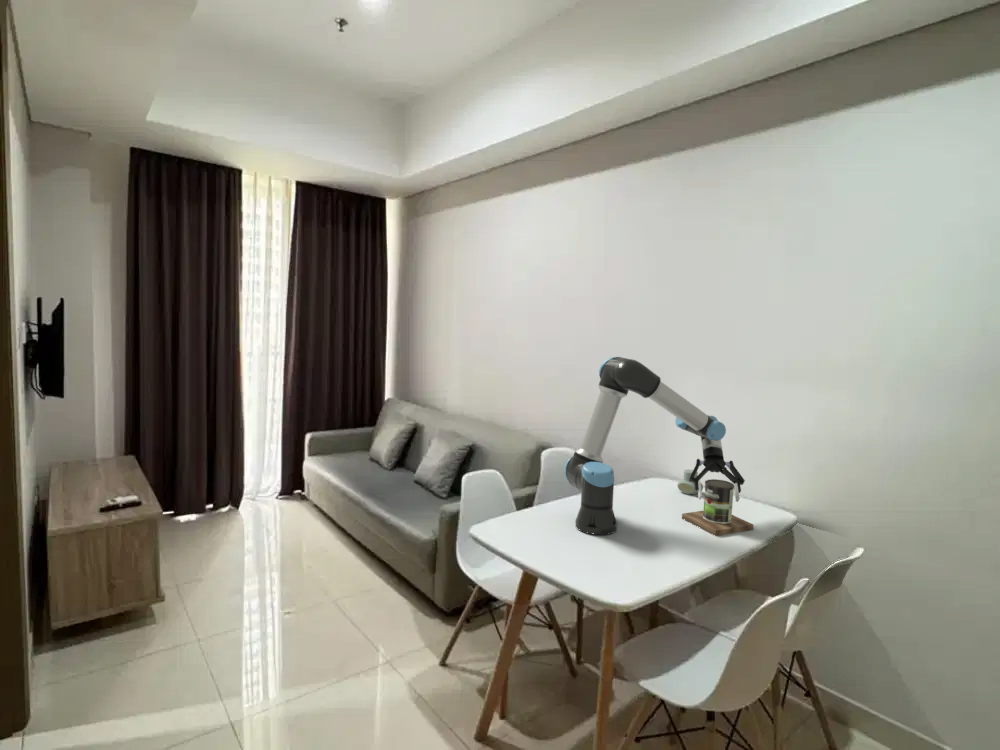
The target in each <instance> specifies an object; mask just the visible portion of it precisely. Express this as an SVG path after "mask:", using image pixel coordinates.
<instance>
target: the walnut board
mask: <svg viewBox="0 0 1000 750" xmlns="http://www.w3.org/2000/svg"><path fill="white" fill-rule="evenodd" d="M703 512H704V510H699V511H692V512H684V513H681V519H682V520H684V519H685V520H684V521H686V520H687V521H686V522H688V523H689V522H690V524H691V523H692V525H693V524H694V526H695V525H696V527H697V526H698V528H699V527H700V528H699V529H701V528H702V529H701V530H704V531H705V532H707V533H709V534H711V535H712V534H713V535H712V536H714V535H715V537H717V536H723V535H730V534H736V533H741V532H746V531H747V532H748V531H753V530H754V524H753V523H751V522H749V521H746V520H745V519H742V518H741V517H738V516H736V515H734V514H732V517H731V523H728V524H717V523H712V522H709V521H707V520H705V519H704V518H703Z"/></svg>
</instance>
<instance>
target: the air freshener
mask: <svg viewBox="0 0 1000 750" xmlns="http://www.w3.org/2000/svg"><path fill="white" fill-rule="evenodd" d="M693 470H694V469H685V470H684V471H683V478H681V479H680V480H678V481H677V489H678V490H679V491H680V492H682V493H683V494H685V495H689V494H692V495H698V490H695V485H694V482H690V481H689V479H690V476H691V474H692V472H693ZM698 475H699V472H698V471H697V472H696V474H695V476H694V478H696V477H697V476H698ZM703 489H704V486H703V483H701V491H703Z"/></svg>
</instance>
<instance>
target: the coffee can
mask: <svg viewBox="0 0 1000 750" xmlns="http://www.w3.org/2000/svg"><path fill="white" fill-rule="evenodd" d="M704 484H705V485H704V498H703V501H704V502H703V511H704V512H703V518H704V519H705V520H707V521H709V522H712V523H717V524H728V523H731V517H732V515H733V514H732V513H733V504H734V503H733V502H734V501H733V500H734V483H733V482H731V481H729V480H728V481H727V480H724V479H714V478H713V479H707V480H705V481H704Z"/></svg>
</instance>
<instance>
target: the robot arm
mask: <svg viewBox="0 0 1000 750" xmlns="http://www.w3.org/2000/svg"><path fill="white" fill-rule="evenodd" d="M598 373H599V378H600V381H599V383H598V388H599V390H600V392H599V394H598V398H597V400H596V404H595V407H594V408H593V412H592V414H591V417H590V420H589V423H588V426H587V429H586V431H585V434H584V436H583V439H582V442H581V445H580V448H578V449H576V450H575V451H574V453H573V456H571V457H570V458H568V460H567V461H566V462H565V464H564V470H563V471H564V472H563V473H564V477H565V478H566V480H567V482H568V483H569V484H570V485H571V486H572V487H574V488H576V489H577V490H579V492H581V493H580V496H581V497H580V506H579V507H580V508H579V510H578V513H577V516H576V518H575V528H576V527H577V528H578V529H580V530H582V531H584V532H588V533H594V534H607V535H609V534H608V533H611V534H613V533H612V532H614V531H615V532H616V531H617V530H616V529H618V523H617V519H616V516H615V511H614V509H613V507H614V506H613V505H614V503H613V502H614V488H615V487H614V486H615V473H614V472H615V471H614V469H613V467H611V466H610V465H609V464H607V463H604V459H603V457H602V454H603V450H604V448H605V445H606V443H607V440H608V437H609V434H610V432H611V429H612V425H614V420H615V418H616V416H617V412H618V409H619V406H620V404H621V401H622V400H623V398H625V397H627V395H628V393H629V391H630V392H633V393H635V394H637V395H639V396H641V397H642V398H644V399H650V400H652V401H653V402H654V403H655V404H657V405H658V406H660V407H662V409H664V410H666V411H667V412H669V413H670V414H671V415H673V416H674V417H676V418H675V421H674V424H675V425H676V427H677V428H680V429H681V430H683V431H687V432H688V433H691V434H694V435H695V436H699V437H700V441H701V447H702V454H703V455H702V456H703V460H701V459H700V458H697V459H696V461H695V466H694V468H693V469H692V470H693V472H692V474H691V476H690V479H689V481H690V482H694V485H695V490H698V494H697V495H698V497H697V498H698V500H701V499H702V498H703V493H702V491H703V490H702V491H701V484H702V482H701V479H703V477H704V476H705V475H706V474H707V473H708V472H710V473H721V474H722V475H724V476H725V477H726V478H727V479H729V480H728V481H729V482H731V483H732V484H734V490H733V493H734V497H735V502H737V503H738V502H739V501H740V498H741V497H740V493H741V492H742V488H741V486H742V485H744V484H745V481H746V480H745V479H744V477H743V475H741V473H740V472H739V471H738V469H737V467H735V464H734V461H732V460H729V461H725V460H724V458H725V457H724V451H723V444H722V439H723V438H724V437H725V435H726V432H727V429H726V425H725V424H724V423H723V422H722V421H719V420H718V418H717V417H715V416H714V415H708V414H706V413H705V411H704V412H703V411H702V410H701V409H700V408H699V407H697V406H695V405H694V404H693V403H691V402H690V401H689V400H687V399H686V398H684V397H683V396H682V395H680V394H679V393H678V392H676V391H675V390H673V389H672V388H670V387H669V386H668V385H667V384H666V383H664V382H662V380H661V377H660V376H659V375H658V374H656V373H655V372H654V371H653V370H651V369H650V368H648V367H647V366H645V365H644V364H642V362H639V361H637V360H636V359H631V358H625V357H622V356H612V357H608V358H607V359H606V360H604V361H603V362H602V363H601V364H600V367H599V369H598ZM702 465H703V466H704V468H703V469H702V470H701V472H700V473H698V476H697V477H696V478H694V476H695V474H696V472H698V471H699V468H700V467H701V466H702ZM577 528H576V529H577ZM578 529H577V530H578ZM580 530H579V531H580ZM582 531H581V532H582ZM584 532H583V533H584ZM615 532H614V533H615ZM588 533H587V534H588Z"/></svg>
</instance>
